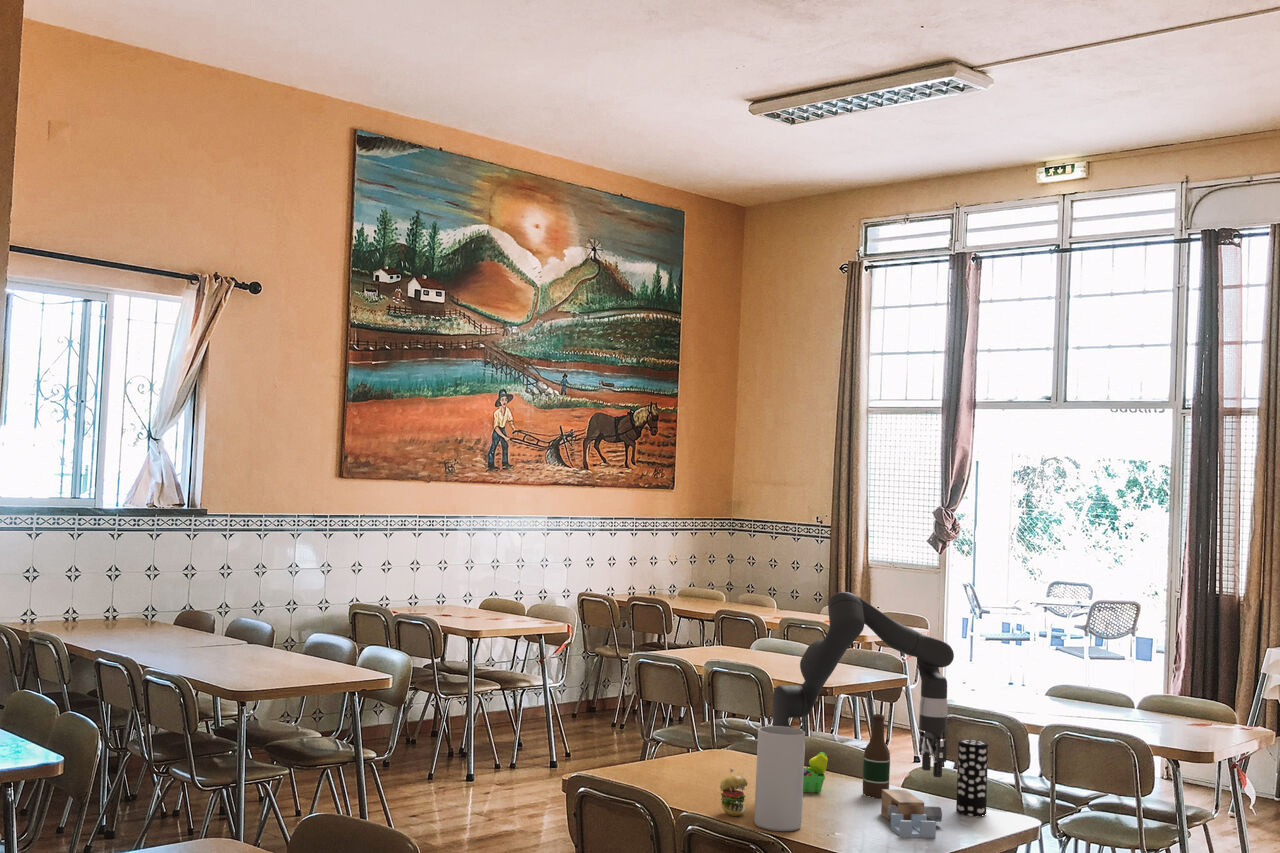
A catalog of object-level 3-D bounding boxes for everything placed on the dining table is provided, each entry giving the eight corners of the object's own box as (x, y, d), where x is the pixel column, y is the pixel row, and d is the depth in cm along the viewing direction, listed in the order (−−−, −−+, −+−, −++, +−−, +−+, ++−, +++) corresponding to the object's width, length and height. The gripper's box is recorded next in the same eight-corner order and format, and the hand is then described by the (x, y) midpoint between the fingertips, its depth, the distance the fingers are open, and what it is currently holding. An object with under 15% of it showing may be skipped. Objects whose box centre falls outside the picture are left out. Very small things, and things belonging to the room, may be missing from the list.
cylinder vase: (809, 831, 303) (812, 735, 305) (765, 833, 300) (769, 735, 302) (789, 819, 315) (793, 726, 317) (747, 820, 312) (751, 726, 314)
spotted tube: (986, 811, 335) (988, 741, 337) (985, 818, 327) (987, 746, 329) (957, 807, 338) (959, 738, 339) (955, 814, 330) (957, 743, 332)
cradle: (900, 836, 303) (901, 821, 303) (890, 828, 310) (891, 813, 311) (935, 837, 304) (936, 822, 304) (924, 829, 312) (925, 814, 312)
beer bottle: (888, 799, 343) (891, 718, 345) (862, 797, 345) (865, 715, 346) (888, 793, 351) (891, 713, 352) (862, 791, 352) (865, 711, 354)
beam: (898, 827, 312) (899, 802, 312) (881, 813, 326) (881, 789, 326) (923, 828, 312) (924, 802, 313) (904, 814, 327) (905, 789, 327)
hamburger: (729, 818, 312) (731, 773, 313) (713, 812, 318) (715, 767, 319) (751, 816, 316) (753, 771, 317) (735, 809, 322) (737, 765, 323)
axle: (891, 822, 313) (892, 808, 313) (887, 817, 317) (888, 803, 317) (941, 824, 315) (942, 809, 315) (936, 818, 319) (937, 804, 319)
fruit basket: (795, 784, 357) (796, 747, 358) (824, 786, 357) (825, 749, 358) (799, 793, 346) (800, 754, 347) (829, 794, 346) (830, 756, 346)
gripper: (956, 718, 312) (954, 779, 311) (936, 709, 326) (935, 768, 325) (929, 717, 311) (927, 779, 310) (911, 708, 325) (909, 767, 324)
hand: (931, 773), depth 317 cm, fingers open, 8 cm apart
